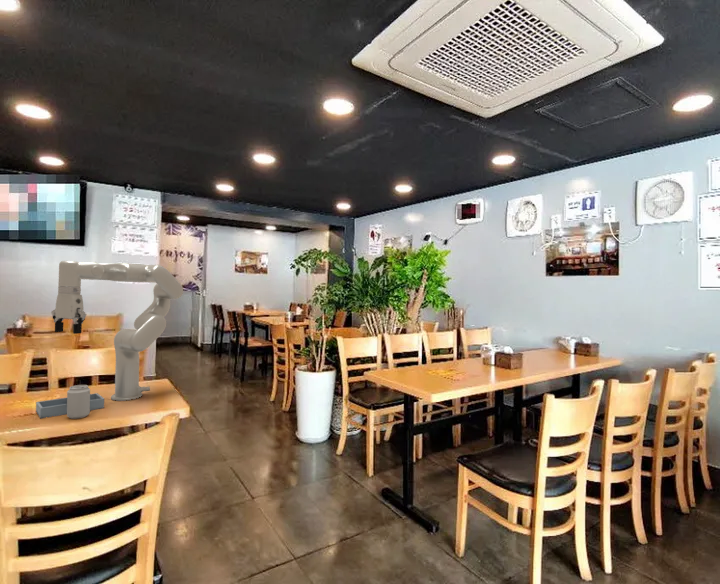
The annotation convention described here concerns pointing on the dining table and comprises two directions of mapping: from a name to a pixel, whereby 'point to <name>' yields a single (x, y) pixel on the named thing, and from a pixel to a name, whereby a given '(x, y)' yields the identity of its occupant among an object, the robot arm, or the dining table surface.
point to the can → (78, 401)
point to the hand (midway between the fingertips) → (68, 332)
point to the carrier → (64, 406)
